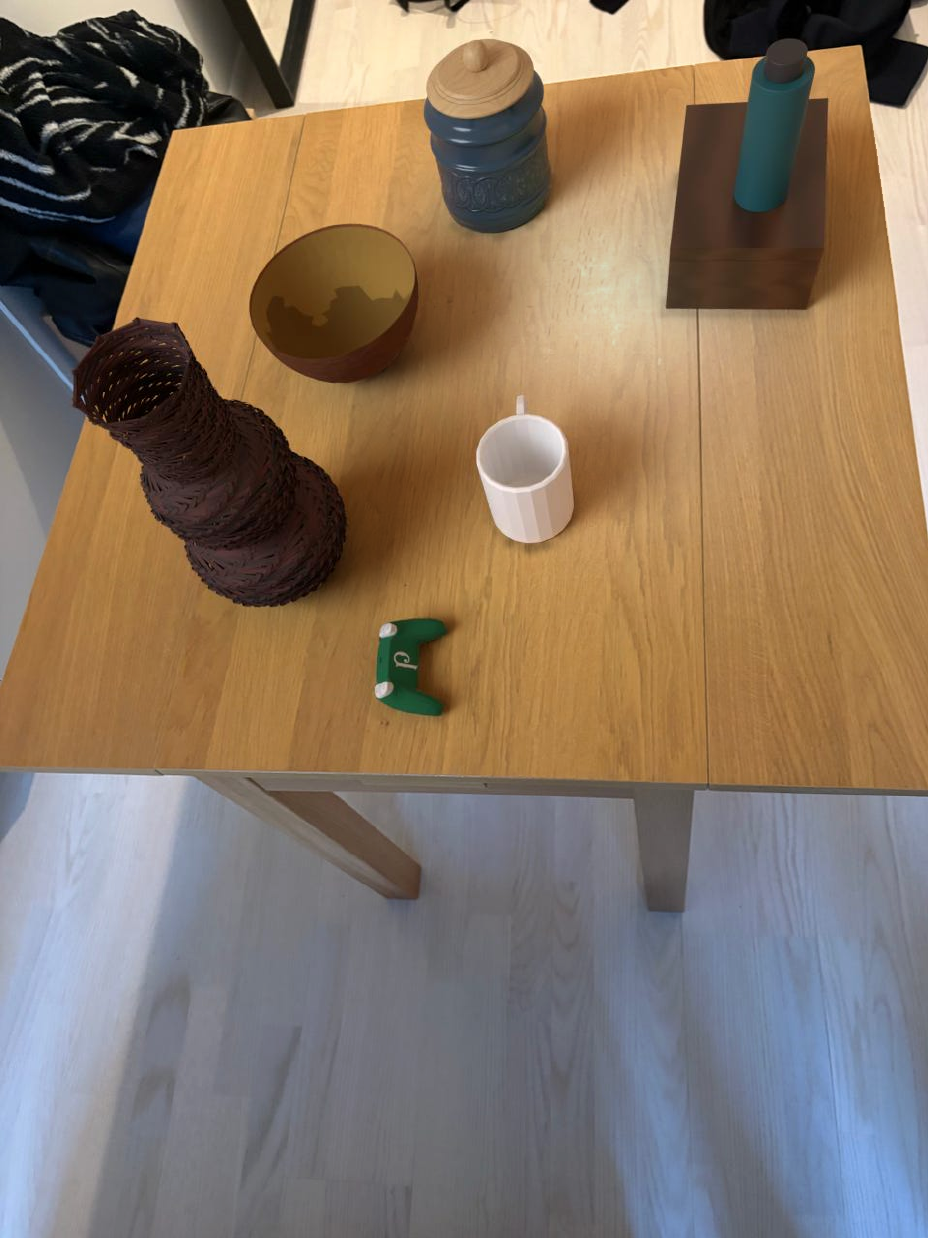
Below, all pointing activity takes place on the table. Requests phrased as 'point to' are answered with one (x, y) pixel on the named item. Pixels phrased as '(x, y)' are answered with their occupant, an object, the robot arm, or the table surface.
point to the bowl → (337, 302)
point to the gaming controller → (405, 665)
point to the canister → (489, 135)
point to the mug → (526, 475)
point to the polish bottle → (773, 125)
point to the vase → (214, 468)
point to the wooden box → (745, 218)
